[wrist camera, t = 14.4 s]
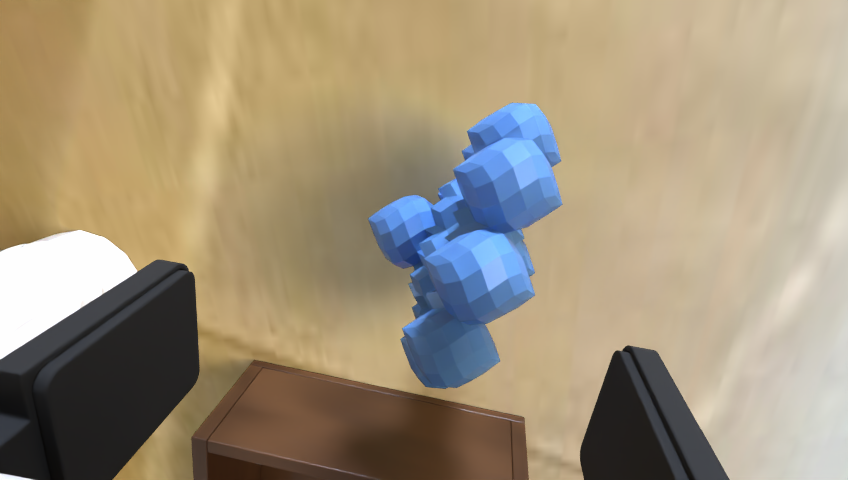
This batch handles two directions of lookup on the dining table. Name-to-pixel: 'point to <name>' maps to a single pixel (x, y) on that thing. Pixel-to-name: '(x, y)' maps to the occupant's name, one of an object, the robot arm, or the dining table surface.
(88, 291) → the white cup
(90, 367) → the robot arm
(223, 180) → the dining table surface
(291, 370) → the brown wooden box
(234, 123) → the dining table surface
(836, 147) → the dining table surface
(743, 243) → the dining table surface
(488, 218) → the grapes
